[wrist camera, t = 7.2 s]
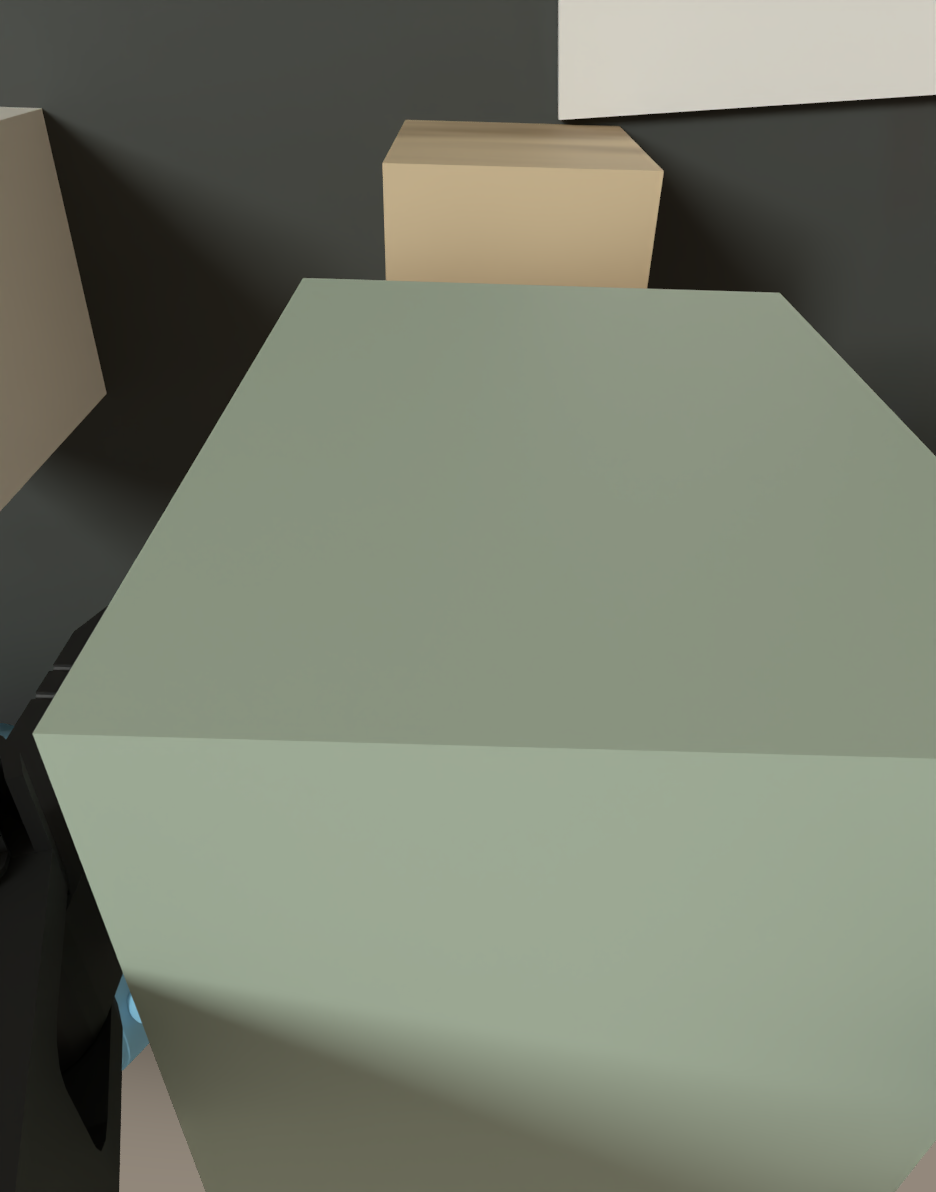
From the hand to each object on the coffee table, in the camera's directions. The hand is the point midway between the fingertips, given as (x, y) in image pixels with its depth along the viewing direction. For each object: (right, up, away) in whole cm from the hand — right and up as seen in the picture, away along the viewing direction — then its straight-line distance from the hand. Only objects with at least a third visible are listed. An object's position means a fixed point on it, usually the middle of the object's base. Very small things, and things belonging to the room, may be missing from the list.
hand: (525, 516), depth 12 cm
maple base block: (0, +7, +10) cm, 12 cm away
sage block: (0, 0, 0) cm, 0 cm away
